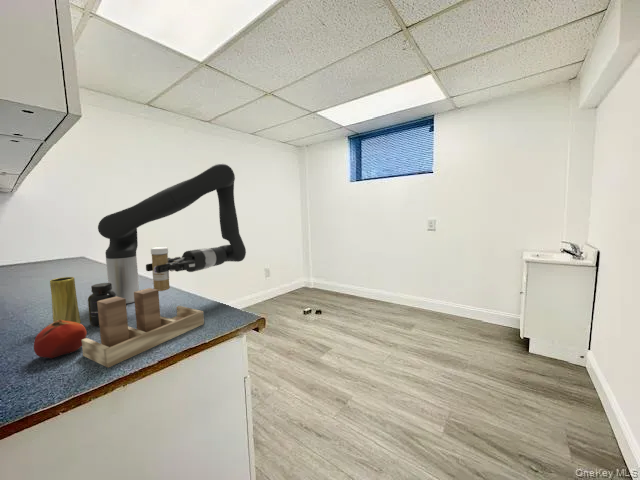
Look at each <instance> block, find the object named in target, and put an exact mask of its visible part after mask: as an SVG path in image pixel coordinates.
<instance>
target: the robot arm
mask: <svg viewBox="0 0 640 480" xmlns="http://www.w3.org/2000/svg"><path fill="white" fill-rule="evenodd" d="M235 176H236V175H235V173H234V170H233V169H232V167H230V165H228V164H226V163H221V162H220V163H215V164H214V165H212V166H211V167H209V168H207V169H206V170H204V171H203V172H201V173H199V174H197V175H195V176H193V177H192V178H189V179H186V180H183V181H182V182H181V181H180V182H178V183H176V184H174V185H171V186H168V187H167V188H165V189H163V190H160V191H158V192H157V193H155V194H153V195H151V196H149V197H147V198H145V199H143V200H142V201H140V202H138V203H136V204H134V205H132V206H130V207H127V208H125V209H122V210H119V211H116V212H114V213H110V214H108V215H105V216H104V217H102V218H101V219H100V220H99V222H98V225H97V230H98V233H99V234H100V235H101V236H102V237H103V238H105V239H108V240H109V244H108V247H107V249H106V250H105V263H106V272H107V283H111V284H112V290H111V291H113V292H115V293H116V295H117V297H121V298H125V299H126V305H127V304H131V303H135V301H134V292H136V291H140V284H139V283H140V281H139V272H138V260H137V259H138V258H137V250H138V228H139V227H142V226H144V225H146V224H149V223H151V222H154V221H157V220H160V219H163V218H166V217H169V216H172V215H174V214H175V213H178V212H180V211H183V210H184V209H185V208H187V207H189V206H191V205H192V204H193V203H195V202H196V201H197V200H199V199H200V198H202V197H203V196H205V195H206V194H209V193H211V192H214V191H216V194H217V195H216V196H217V200H218V207H219V208H218V210H219V211H218V212H219V213H218V215H219V226H220V234H221V238H222V239H223V240H226V241H228V243H229V244H224V245H221V246H218V247H209V248H208V247H207V248H199V249H192V250H191V249H190V250H186V251H184V252H183V253H182V255H181V256H175V257H172V258H171V257H168V264H163V265H158V266H156V272H157V273H162V272H166V271H169V272H174V271H175V272H183V271H186V272H188V273H194V272H198V271H201V270H202V271H203V270H206V269H210V268H212V267H215V266H219V265H223V264H224V263H225V262H234V263H235V262H236V263H238V262H242V261H243V260H245V258H246V255H247V254H246V253H247V251H246V246H245V244H244V241H243V239H242V237H241V234H240V228H239V222H238V216H237V215H238V214H237V210H236V204H235V193H234V192H235V180H236V177H235ZM145 270H146V272H151V271H152V270H153V268H152V262H151V263H147V264H145Z"/></svg>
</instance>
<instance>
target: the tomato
mask: <svg viewBox="0 0 640 480" xmlns="http://www.w3.org/2000/svg"><path fill="white" fill-rule="evenodd" d="M87 334H88V332H87V329H86V327H85V326H84V325H83V324H82V323H76V322H71V321H63V320H57V321H55V322H54V323H53V322H52V323H49V324H48V325H46V326H45V327H44V328H43V329H42V330H41V331H39V332H38V333H37V335H36V336H35V338H34V341H33V351H34V353H35V355H36V356H38V357H40V358H47V359H54V358H57V357H60V356H63V355H67V354H71V353H74V352H76V351H78V350H79V349H80V348H82V341H81V340H82V339H85V338H87Z"/></svg>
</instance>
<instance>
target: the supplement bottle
mask: <svg viewBox="0 0 640 480" xmlns="http://www.w3.org/2000/svg"><path fill="white" fill-rule="evenodd" d="M111 290H112V284H111V283H108V282H102V283H101V282H100V283H96V284H92V285H91V290H90V291H91V294H90V295H89V296H88V298H87V306H88V316H89V317H88V318H89V324H90V326H92V327H100V325H99V315H98V305H97V301H100V300H104V299H108V298H112V297H116V296H117V295H116V293H115V292H113V291H111Z"/></svg>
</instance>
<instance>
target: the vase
mask: <svg viewBox="0 0 640 480" xmlns="http://www.w3.org/2000/svg"><path fill="white" fill-rule="evenodd" d="M49 286H50V294H51V309H52V321H53V322H52V323H54V322H55V321H57V320H63V321H71V322H76V323H79V324H82V323H81V322H82V320H81V317H80V311H79V304H78V296H77V290H76V281H75V277H73V276H65V277H58V278H53V279H50V280H49Z"/></svg>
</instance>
